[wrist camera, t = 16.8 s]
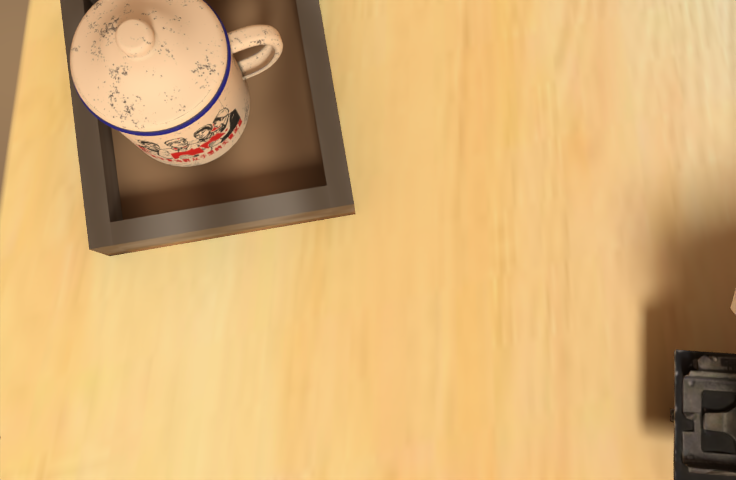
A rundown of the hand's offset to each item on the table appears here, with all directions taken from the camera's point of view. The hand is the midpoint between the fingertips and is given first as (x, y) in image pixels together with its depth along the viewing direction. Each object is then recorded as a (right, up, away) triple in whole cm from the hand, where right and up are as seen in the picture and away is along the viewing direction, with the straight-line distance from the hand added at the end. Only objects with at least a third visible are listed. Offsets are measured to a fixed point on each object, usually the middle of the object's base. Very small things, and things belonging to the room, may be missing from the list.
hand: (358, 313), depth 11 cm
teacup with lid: (-11, +11, +37) cm, 40 cm away
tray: (-11, +11, +38) cm, 41 cm away
